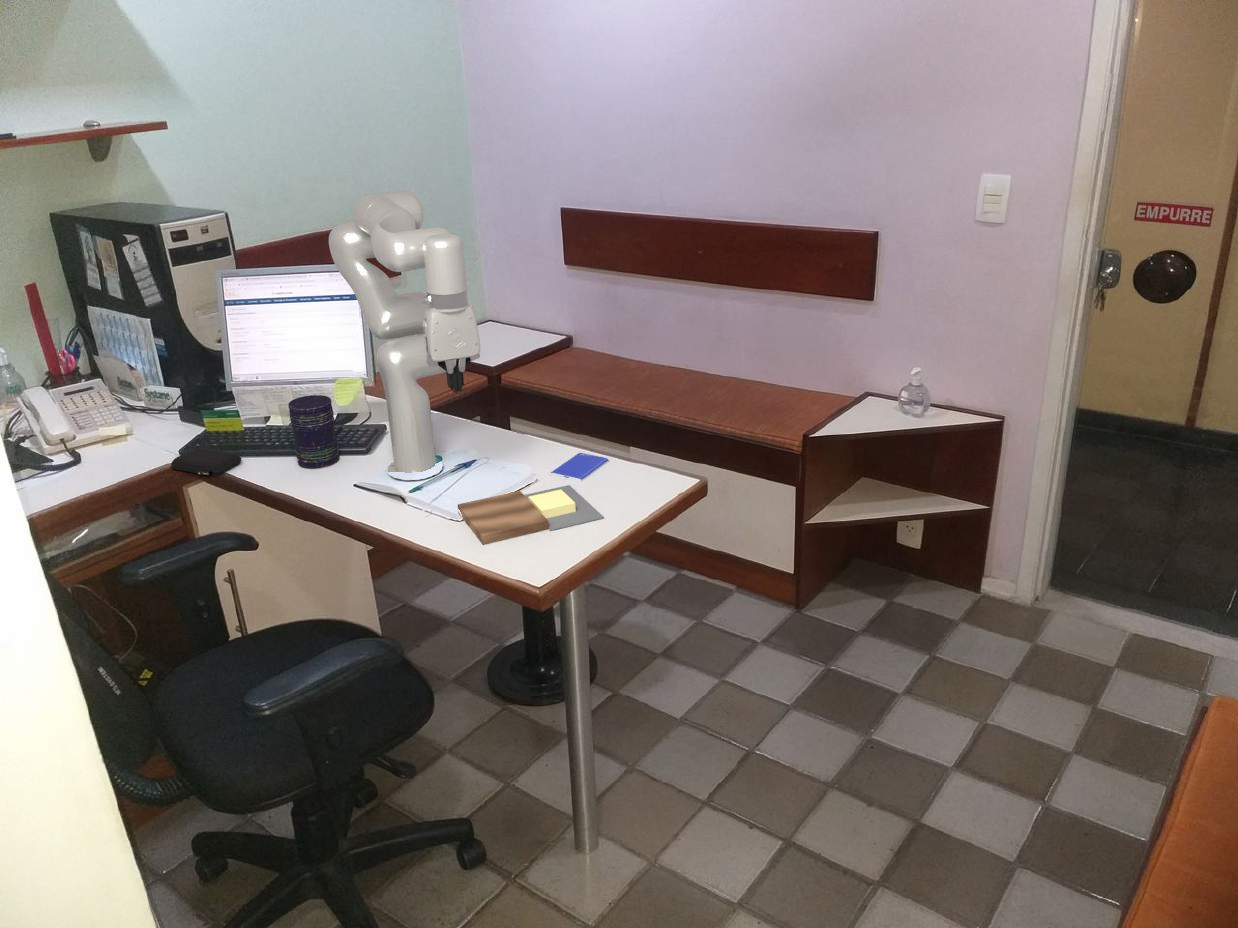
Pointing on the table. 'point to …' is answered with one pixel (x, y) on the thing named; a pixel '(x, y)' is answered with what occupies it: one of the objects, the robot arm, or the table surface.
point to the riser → (502, 517)
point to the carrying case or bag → (206, 462)
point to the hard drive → (580, 467)
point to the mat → (581, 515)
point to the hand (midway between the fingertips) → (456, 389)
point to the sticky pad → (553, 503)
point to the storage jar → (314, 431)
